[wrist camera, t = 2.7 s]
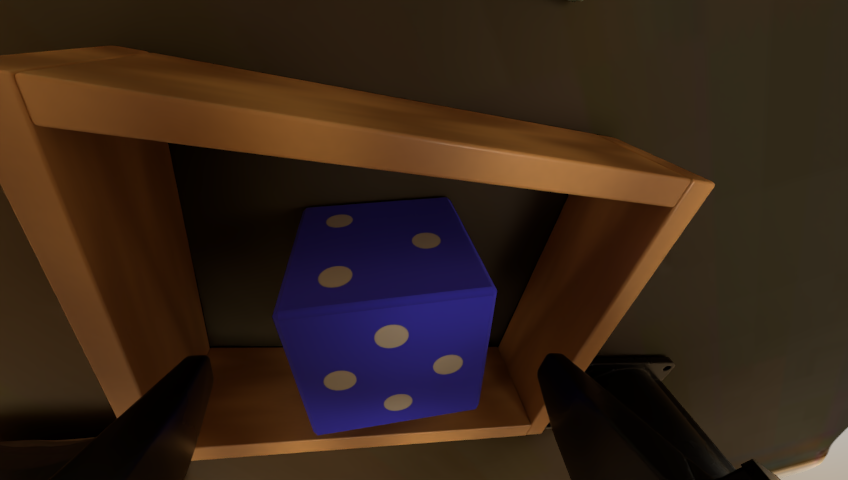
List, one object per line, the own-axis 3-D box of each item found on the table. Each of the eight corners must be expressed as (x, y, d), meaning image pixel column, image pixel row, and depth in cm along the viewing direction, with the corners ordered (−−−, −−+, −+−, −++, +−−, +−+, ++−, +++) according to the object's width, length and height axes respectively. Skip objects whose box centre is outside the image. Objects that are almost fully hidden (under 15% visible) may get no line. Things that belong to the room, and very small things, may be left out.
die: (326, 313, 14) (313, 439, 10) (302, 205, 11) (268, 317, 7) (444, 299, 14) (479, 411, 10) (449, 195, 12) (500, 289, 8)
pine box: (615, 137, 11) (718, 183, 8) (506, 356, 17) (541, 434, 14) (111, 44, 8) (-64, 59, 5) (191, 360, 14) (139, 465, 11)
